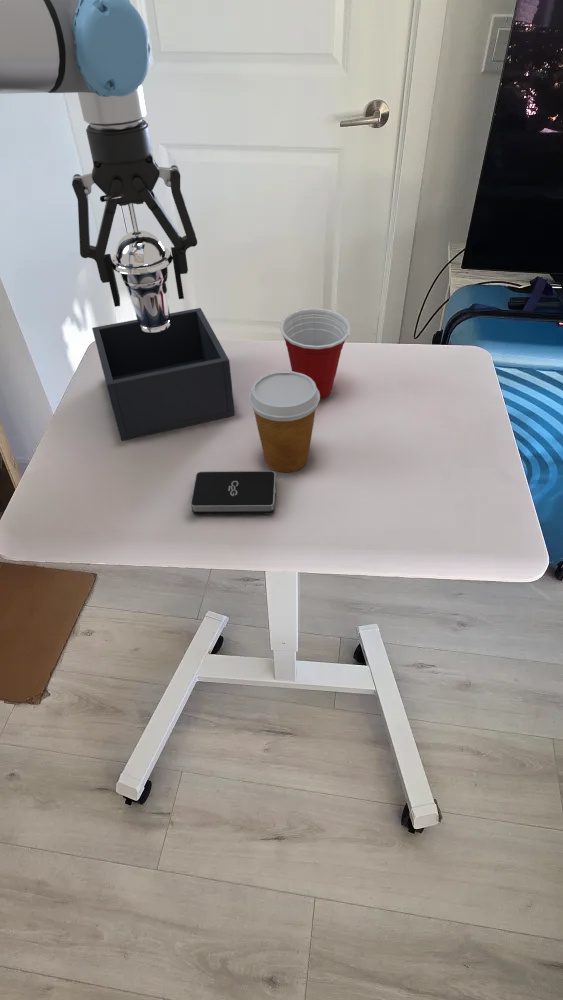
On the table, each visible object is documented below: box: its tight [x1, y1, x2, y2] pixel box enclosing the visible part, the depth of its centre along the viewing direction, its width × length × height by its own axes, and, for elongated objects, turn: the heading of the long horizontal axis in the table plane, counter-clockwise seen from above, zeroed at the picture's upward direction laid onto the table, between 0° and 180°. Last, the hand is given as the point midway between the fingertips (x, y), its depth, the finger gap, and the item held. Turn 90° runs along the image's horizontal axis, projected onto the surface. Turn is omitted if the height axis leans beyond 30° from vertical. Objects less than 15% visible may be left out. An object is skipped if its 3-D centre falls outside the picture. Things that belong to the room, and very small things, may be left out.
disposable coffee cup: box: [248, 370, 321, 473], centre depth 87 cm, size 10×10×12 cm
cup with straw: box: [99, 192, 173, 333], centre depth 87 cm, size 8×9×20 cm
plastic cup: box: [279, 307, 352, 400], centre depth 99 cm, size 11×11×12 cm
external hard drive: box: [190, 470, 277, 515], centre depth 84 cm, size 7×11×2 cm, turn 89°
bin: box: [91, 307, 236, 442], centre depth 100 cm, size 18×18×10 cm
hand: (149, 298), depth 91 cm, fingers closed on cup with straw, 8 cm apart
